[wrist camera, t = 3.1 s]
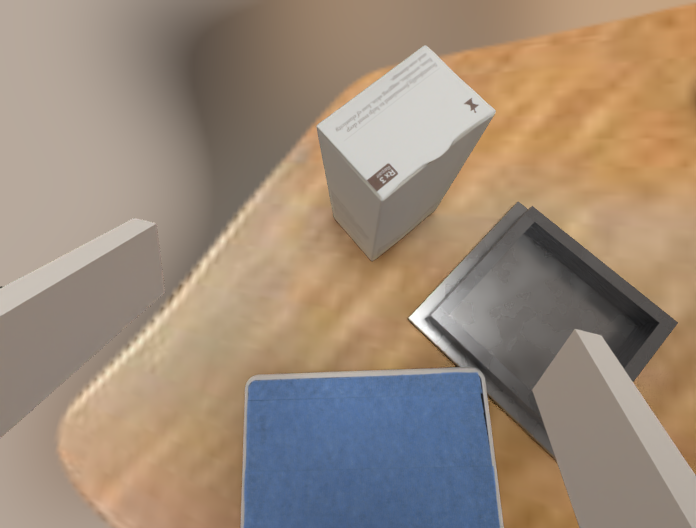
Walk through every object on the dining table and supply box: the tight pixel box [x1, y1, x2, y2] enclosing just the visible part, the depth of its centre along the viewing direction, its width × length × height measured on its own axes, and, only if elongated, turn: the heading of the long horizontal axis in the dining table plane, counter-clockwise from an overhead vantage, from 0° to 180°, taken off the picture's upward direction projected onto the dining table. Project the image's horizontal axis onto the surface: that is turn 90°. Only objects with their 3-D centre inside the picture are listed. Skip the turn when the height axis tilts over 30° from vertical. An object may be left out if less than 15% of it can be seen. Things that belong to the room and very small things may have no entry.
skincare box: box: [317, 46, 496, 261], centre depth 25 cm, size 8×6×15 cm
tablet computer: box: [240, 367, 504, 528], centre depth 27 cm, size 19×13×1 cm, turn 92°
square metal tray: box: [408, 202, 678, 461], centre depth 28 cm, size 15×16×3 cm
